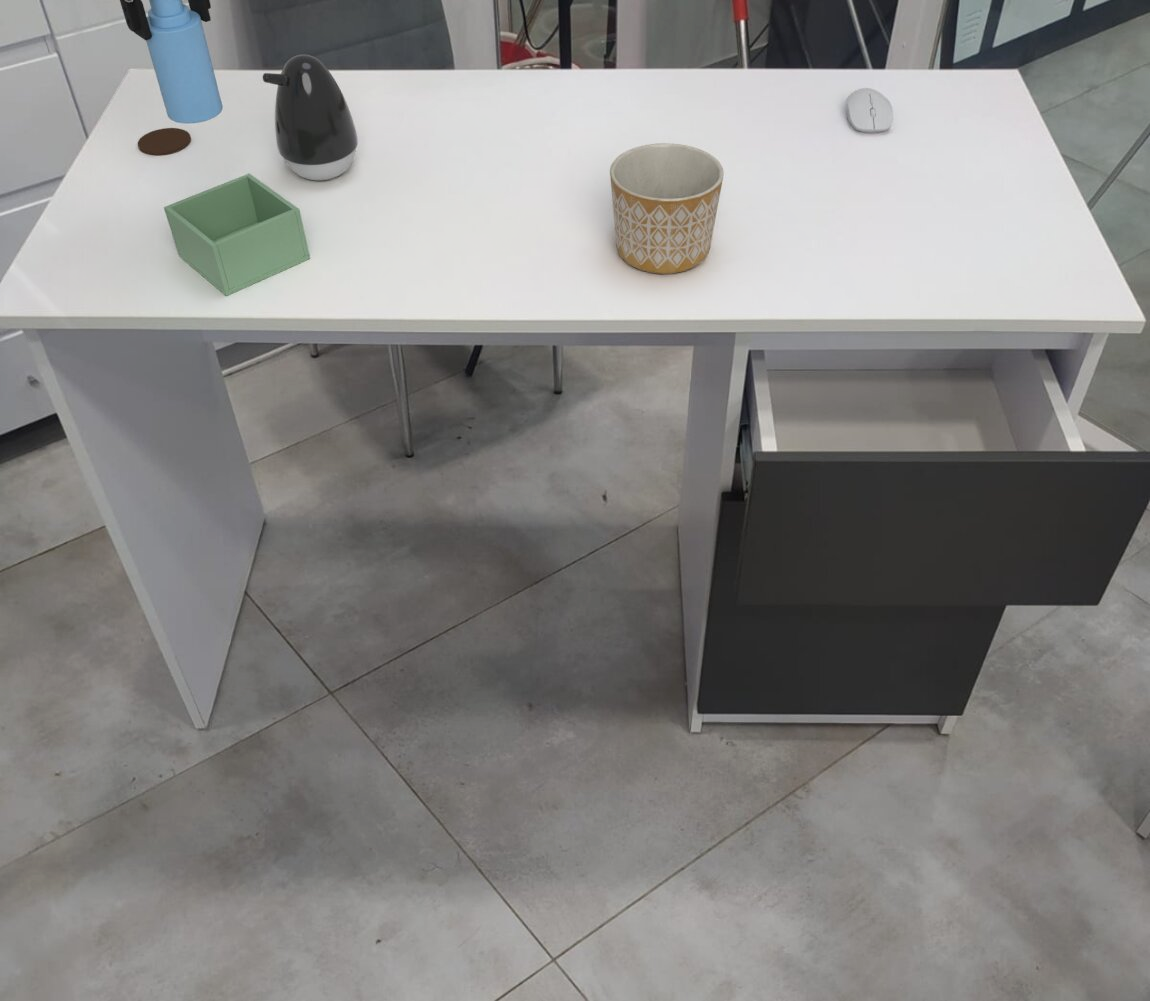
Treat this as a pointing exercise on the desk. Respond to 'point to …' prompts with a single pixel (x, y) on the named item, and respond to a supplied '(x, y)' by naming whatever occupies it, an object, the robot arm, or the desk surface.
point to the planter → (665, 206)
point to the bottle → (182, 62)
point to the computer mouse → (869, 111)
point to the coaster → (164, 141)
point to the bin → (238, 233)
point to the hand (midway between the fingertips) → (172, 25)
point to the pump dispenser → (312, 120)
